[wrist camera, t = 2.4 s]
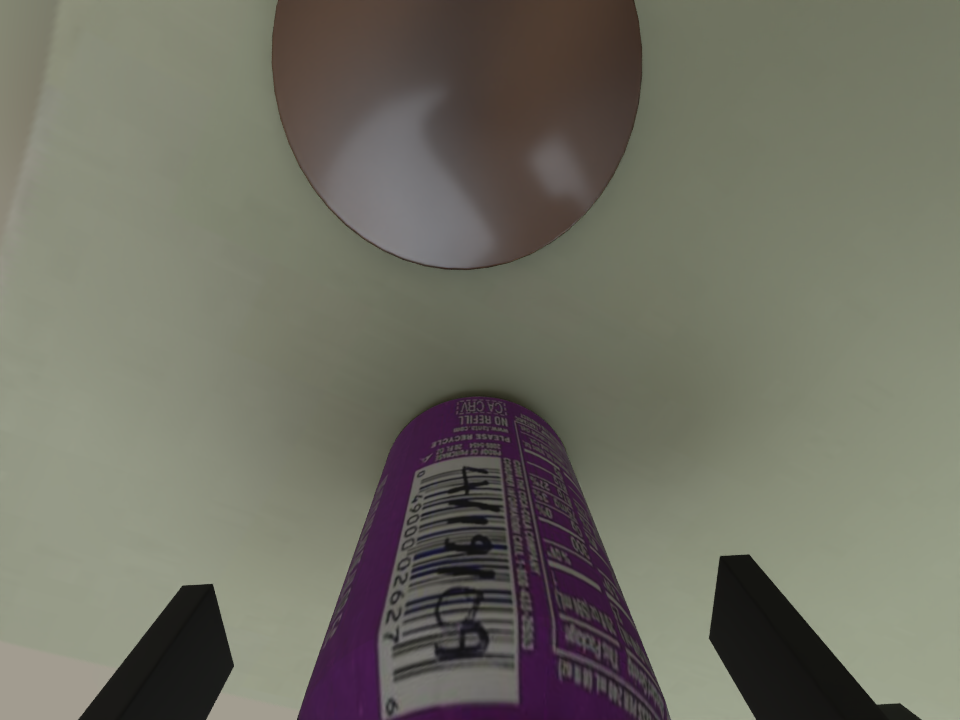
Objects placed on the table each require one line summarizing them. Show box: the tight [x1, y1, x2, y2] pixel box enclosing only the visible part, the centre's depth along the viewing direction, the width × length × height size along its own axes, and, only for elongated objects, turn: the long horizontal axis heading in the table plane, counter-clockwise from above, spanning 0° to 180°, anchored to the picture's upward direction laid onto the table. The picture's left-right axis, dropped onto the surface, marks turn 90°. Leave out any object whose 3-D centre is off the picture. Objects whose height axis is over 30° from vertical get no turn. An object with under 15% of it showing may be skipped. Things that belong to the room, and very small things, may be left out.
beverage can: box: [297, 397, 671, 720], centre depth 12 cm, size 7×7×12 cm
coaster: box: [272, 0, 642, 270], centre depth 14 cm, size 11×11×1 cm
